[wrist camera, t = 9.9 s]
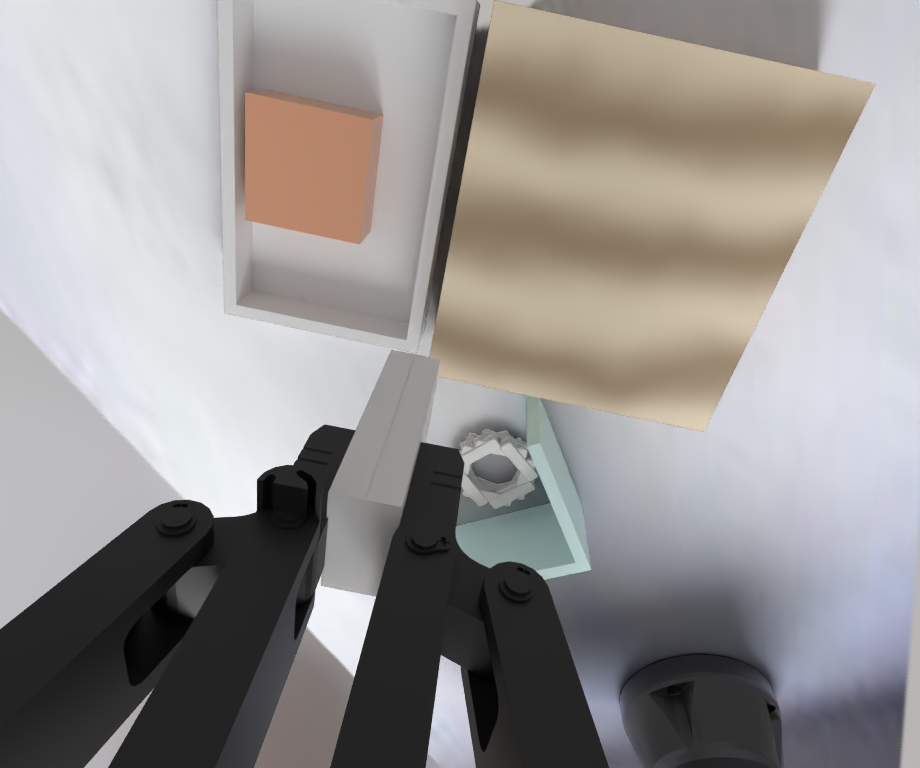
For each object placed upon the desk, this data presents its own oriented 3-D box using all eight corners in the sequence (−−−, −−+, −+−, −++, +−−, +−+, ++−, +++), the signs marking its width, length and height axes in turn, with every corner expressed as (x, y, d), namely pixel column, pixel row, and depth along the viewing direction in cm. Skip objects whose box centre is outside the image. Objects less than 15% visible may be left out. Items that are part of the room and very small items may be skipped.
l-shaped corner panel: (536, 384, 44) (540, 443, 37) (581, 501, 49) (591, 570, 42) (394, 427, 47) (374, 487, 40) (451, 532, 52) (441, 600, 45)
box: (423, 331, 41) (416, 353, 38) (245, 294, 41) (224, 313, 38) (480, 4, 31) (476, -1, 28) (244, -47, 31) (215, -58, 28)
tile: (245, 220, 35) (264, 208, 37) (359, 244, 35) (370, 231, 37) (245, 92, 31) (266, 89, 34) (372, 119, 31) (383, 114, 34)
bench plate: (680, 384, 42) (703, 431, 37) (437, 334, 42) (426, 374, 36) (817, 78, 32) (875, 83, 27) (498, 8, 31) (494, 0, 26)
